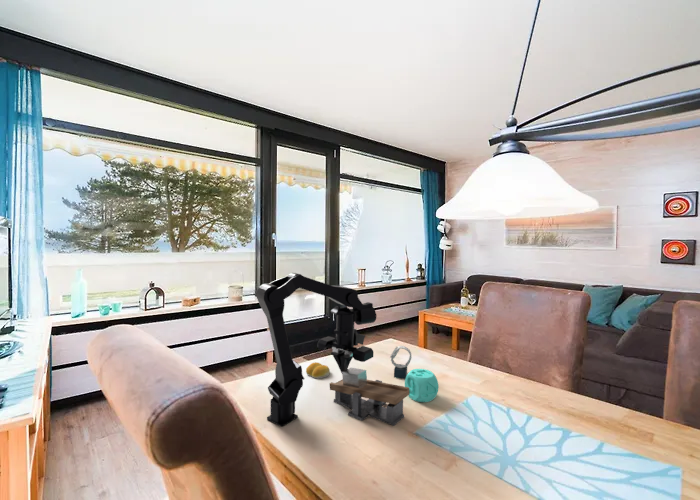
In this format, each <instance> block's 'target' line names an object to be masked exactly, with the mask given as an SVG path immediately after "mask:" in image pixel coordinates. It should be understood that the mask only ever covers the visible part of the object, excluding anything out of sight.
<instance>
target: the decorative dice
mask: <svg viewBox="0 0 700 500" xmlns="http://www.w3.org/2000/svg"><path fill="white" fill-rule="evenodd" d="M404 387H409V395H408V396H407V397H409V398H410V399H411V400H413V401H414V402H418V403H429V402H431V401H433V400H434V399H435V398H436V397H437V396H438V393H439V389H440V388H439V387H440V386H439V381H438V378H437V377H436V375H435V373H433V372H432V371H431V370H429V369H425V368H413V369H411V370H410V371H409V372H407V376H406V378H405V379H404Z"/></svg>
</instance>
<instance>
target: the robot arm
mask: <svg viewBox="0 0 700 500" xmlns="http://www.w3.org/2000/svg"><path fill="white" fill-rule="evenodd" d="M298 289H302V290H305V291H308V292H311V293H315V294H318V295H321V296H325V297H326V298H328V299H330V300H331V301H332V302H334V303H336V304H338V305H341V306H343V307H340V306H338V305H335V306H334V307H333V308H332V309H331V310H330V313H331V314H334V315H335V316H336V325H335V326H336V328H335V329H333V334H334V335H335V337H333V336H329V335H327V336H324V337H322V338H319V340H318V342H317V349H319V350H322V351H324V350H326V349H327V347H329V348H331V349H332V351H331V352H330V355H331V356H333V358H334V361H335V362H336V364H337V366H338V369H339V371H340V373H341V374H342V372H343V371H345V370H347V369H349V366H350V364H351V361H352V359H354V361H357V362H361V363H364V362H367V361H368V360H371V359H372V358H374V352H375V351H374V350H373V348H372V347H368V346H364V342H365V337H366V335H365V334H360V333H358V329H357V328H355V324H356V325H358V326H361V325H367V324H374V323H375V322H376V320H377V313H376V310H375V308H374V306H373V305H374V303H372V302H363V303H362V301H361V299H360V298H359V295H358V291H357V290H356V289H354V288H351V287H346V286H342V285H334V284H333V285H331V284H328V283H326V282H325V283H324V282H322V281H319V280H316V279H313V278H310V277H307V276H304V275H303V274H301V273H296V272H291V273H289V274H287V275H286V276H283V277H280V278H278V279H276V280H275V279H274V281H271V282H269V283H267V282H266V283H262V284H261V285H260V286H259V287H258V288H257V289H256V293H255V295H256V296H255V297H256V299H257V303H259V306H260V308H261V310H262V312H263V313H264V316H265V317H266V319H267V324H268V329H269V334H270V338H271V342H272V343H271V344H272V346H273V350H274V351H273V352H274V355H275V359H276V366H275V371H274V372H275V373H274V374H275V377H274V379H273V380H272V382H271V383H270V384H269V386H268V387H267V390H268V392H269V395H271V396H272V398H271V399H270V415H268V416H266V420H268V421H270V422H272V423H274V424H276V425H277V426H279V427H284V426H286V425H287V424H289V423H291V422H292V421H294V420H296V419H297V418H299V416H298V414H296V413H295V412H296V402H297V400H298V395H299V392H300V390H301V389H302V388H303V385H304V380H305V377H304V376H303V375H304V374H303V368H302V365H300V364H299V363H297V361H295V360H294V359H293V356H292V355H293V354H292V352H291V351H292V350H291V347H290V342H289V338H288V333H287V329H286V324H285V319H284V310H285V299H288V297H291V296H292V295H293V294H294V293H295V292H296V291H297V290H298ZM359 344H360V345H362V346H359V347H357V346H358V345H359Z"/></svg>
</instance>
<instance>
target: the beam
mask: <svg viewBox="0 0 700 500" xmlns="http://www.w3.org/2000/svg"><path fill="white" fill-rule="evenodd" d="M329 390H330V391H334V392H335V391H338V392H342V393H346V394H351V395H353V394H354V393H355V392H357V393H360V394H362V396H361V398H363V399H364V398H365V399H367V400H368V399H373V400H377V401H381V402H386V404H389V403H390V404H394V405H396V404H397V403H399V402H400V401H401V400H403V401H404V399H406V398H407V397H409V396H408V395H409V387H405V385H404V386H403V385H397V384H392V383H388V382H387V383H386V382H383V381H382V382H377V381H376V380H372V379H367V385H365V386H364V387H362V388H356V387H351V386H346V385H343V378H342V379H340V380H338V381H337V382H330V383H329Z"/></svg>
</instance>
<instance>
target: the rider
mask: <svg viewBox="0 0 700 500" xmlns="http://www.w3.org/2000/svg"><path fill="white" fill-rule="evenodd" d="M341 375H342V379H343V385H346V386H351V387H356V388H362V387H364V386H365V385H367V380H368V378H367V377H368V376H367V370H366V369H361V368H356V367H348V369H347V370H345V371H343V372H342V373H341Z"/></svg>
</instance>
